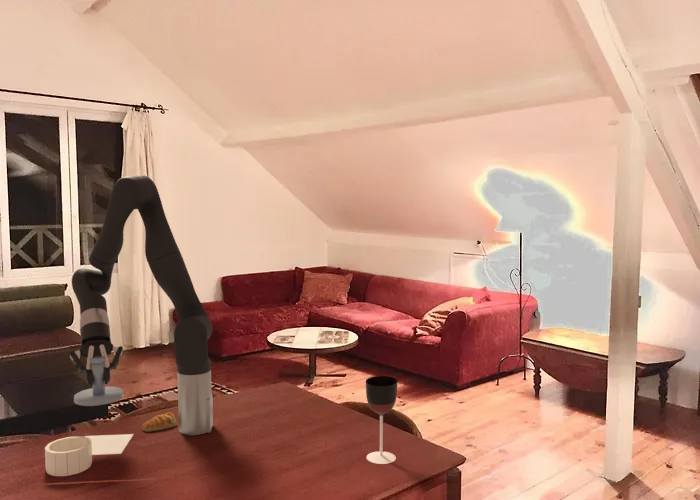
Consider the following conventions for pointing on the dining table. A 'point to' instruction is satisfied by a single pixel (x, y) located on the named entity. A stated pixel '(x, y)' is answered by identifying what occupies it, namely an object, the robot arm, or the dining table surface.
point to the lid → (98, 387)
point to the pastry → (160, 422)
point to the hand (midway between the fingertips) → (99, 383)
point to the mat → (109, 443)
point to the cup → (68, 456)
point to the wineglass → (381, 410)
